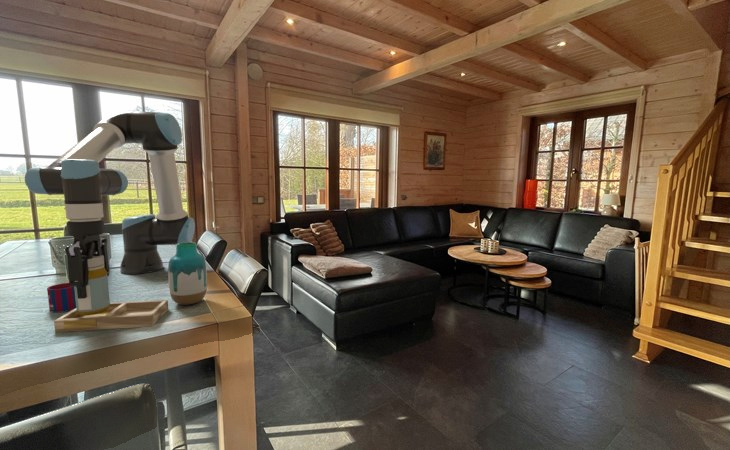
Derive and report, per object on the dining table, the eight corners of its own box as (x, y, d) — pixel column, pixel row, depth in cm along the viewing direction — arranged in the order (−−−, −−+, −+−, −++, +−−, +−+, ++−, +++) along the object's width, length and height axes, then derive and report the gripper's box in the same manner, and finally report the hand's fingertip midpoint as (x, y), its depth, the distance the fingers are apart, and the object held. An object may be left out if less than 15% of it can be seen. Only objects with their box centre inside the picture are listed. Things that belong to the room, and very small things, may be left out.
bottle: (91, 317, 86) (86, 260, 84) (69, 314, 87) (64, 259, 85) (116, 307, 92) (112, 255, 90) (96, 305, 94) (91, 253, 92)
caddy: (83, 314, 94) (82, 304, 94) (168, 309, 99) (167, 299, 98) (54, 332, 83) (53, 321, 83) (151, 326, 87) (150, 315, 87)
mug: (46, 308, 98) (44, 286, 97) (89, 299, 106) (87, 278, 105) (53, 314, 94) (50, 291, 93) (96, 304, 102) (94, 282, 101)
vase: (215, 301, 106) (212, 242, 104) (182, 312, 97) (179, 248, 95) (195, 294, 112) (192, 239, 109) (162, 304, 103) (159, 244, 100)
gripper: (90, 215, 95) (97, 293, 98) (41, 224, 76) (52, 319, 79) (120, 215, 96) (126, 292, 99) (78, 224, 78) (87, 317, 81)
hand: (93, 304), depth 89 cm, fingers closed on bottle, 6 cm apart
